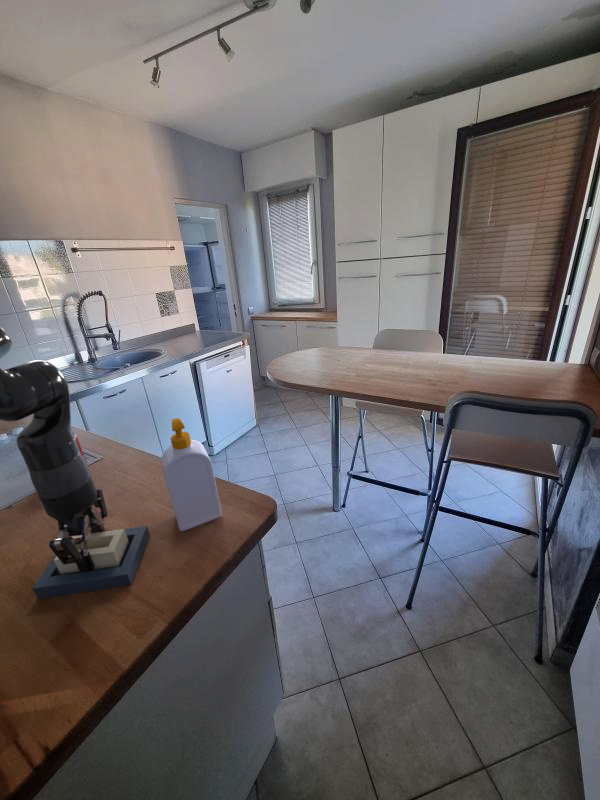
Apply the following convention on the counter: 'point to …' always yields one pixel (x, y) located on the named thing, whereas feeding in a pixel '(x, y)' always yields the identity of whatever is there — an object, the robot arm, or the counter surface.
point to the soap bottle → (190, 480)
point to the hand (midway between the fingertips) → (95, 555)
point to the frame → (100, 550)
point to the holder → (95, 571)
